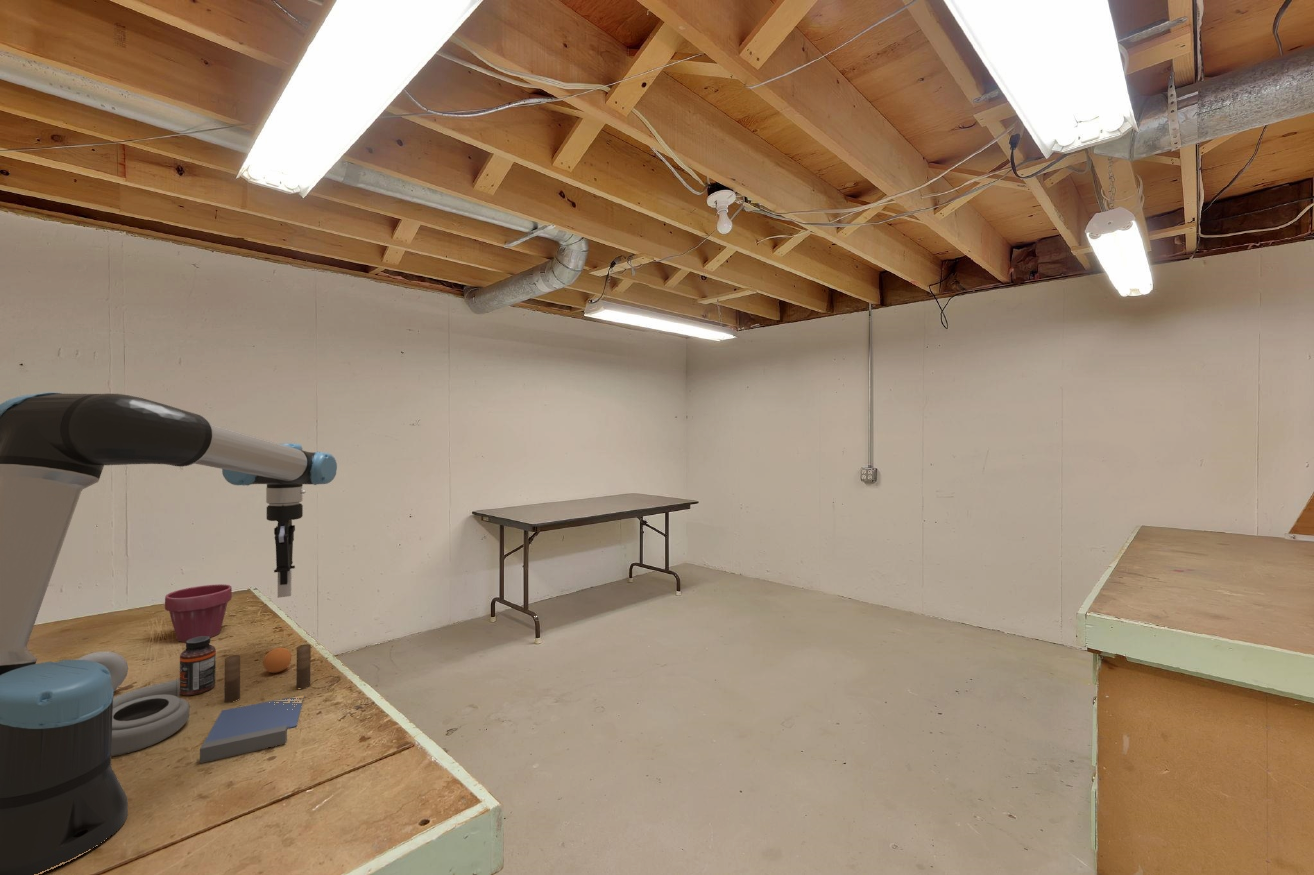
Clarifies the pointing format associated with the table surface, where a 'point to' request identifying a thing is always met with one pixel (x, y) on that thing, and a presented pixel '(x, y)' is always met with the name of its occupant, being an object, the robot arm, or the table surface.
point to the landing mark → (255, 719)
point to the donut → (110, 665)
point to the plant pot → (198, 610)
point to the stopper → (242, 744)
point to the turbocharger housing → (147, 717)
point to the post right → (303, 666)
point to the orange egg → (277, 660)
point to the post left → (232, 678)
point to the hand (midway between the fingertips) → (284, 596)
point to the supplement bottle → (197, 666)
